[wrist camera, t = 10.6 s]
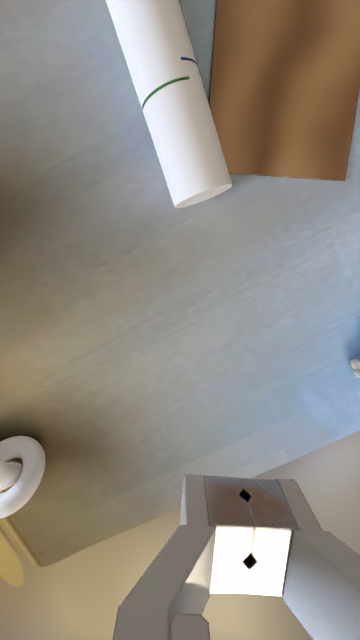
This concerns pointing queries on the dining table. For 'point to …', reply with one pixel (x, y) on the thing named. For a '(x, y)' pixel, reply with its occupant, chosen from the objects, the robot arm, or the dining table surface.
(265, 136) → the brown flat board
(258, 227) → the dining table surface
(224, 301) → the dining table surface
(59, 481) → the dining table surface
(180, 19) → the cylindrical container
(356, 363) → the stuffed animal
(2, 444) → the white knot sculpture
